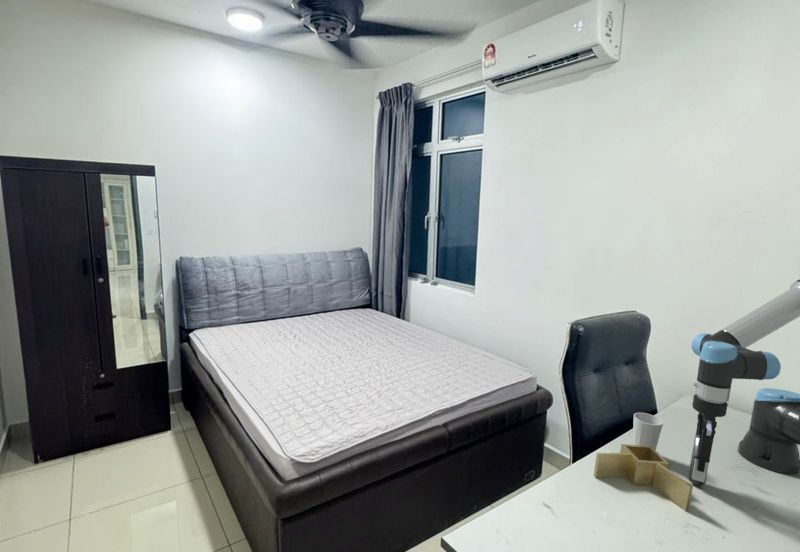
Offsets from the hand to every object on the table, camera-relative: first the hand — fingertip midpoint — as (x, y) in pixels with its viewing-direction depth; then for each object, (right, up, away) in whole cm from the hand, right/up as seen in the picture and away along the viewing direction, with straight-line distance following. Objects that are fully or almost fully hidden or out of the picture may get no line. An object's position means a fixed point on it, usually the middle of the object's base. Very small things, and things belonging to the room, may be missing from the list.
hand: (697, 475), depth 118 cm
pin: (0, -2, 0) cm, 2 cm away
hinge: (-19, -2, -2) cm, 20 cm away
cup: (-7, 0, +14) cm, 16 cm away
